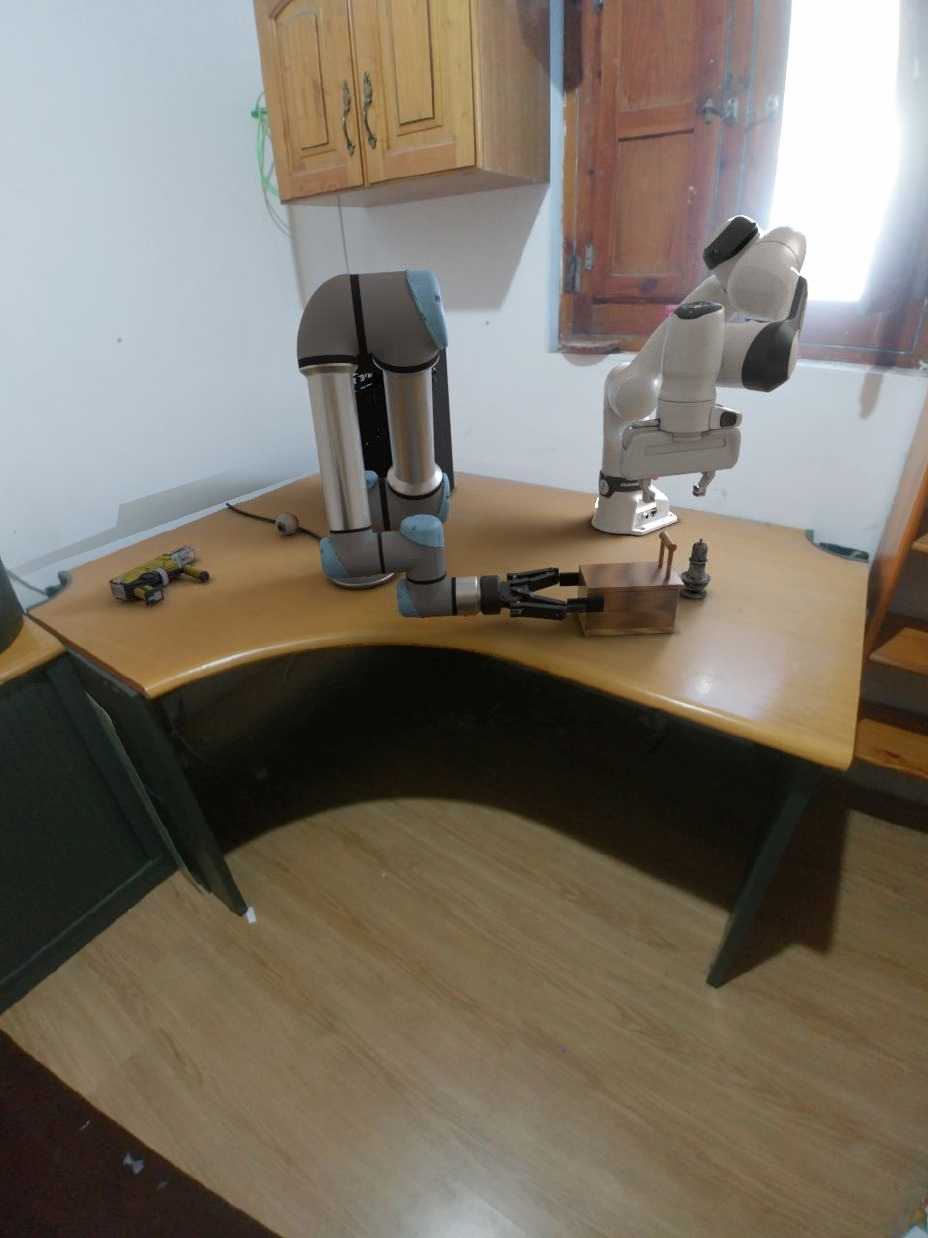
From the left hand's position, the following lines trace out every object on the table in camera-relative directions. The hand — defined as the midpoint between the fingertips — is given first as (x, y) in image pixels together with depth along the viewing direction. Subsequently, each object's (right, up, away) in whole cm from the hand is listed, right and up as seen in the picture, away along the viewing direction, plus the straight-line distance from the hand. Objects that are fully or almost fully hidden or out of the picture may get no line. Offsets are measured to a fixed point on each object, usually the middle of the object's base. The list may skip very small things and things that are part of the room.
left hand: (597, 590), depth 113 cm
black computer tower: (-42, +28, +66) cm, 84 cm away
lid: (+6, +2, -1) cm, 6 cm away
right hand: (+11, +15, -9) cm, 21 cm away
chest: (+6, -6, +3) cm, 9 cm away
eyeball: (-73, +18, +52) cm, 91 cm away
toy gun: (-93, +3, +28) cm, 97 cm away
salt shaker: (+22, 0, +11) cm, 25 cm away
